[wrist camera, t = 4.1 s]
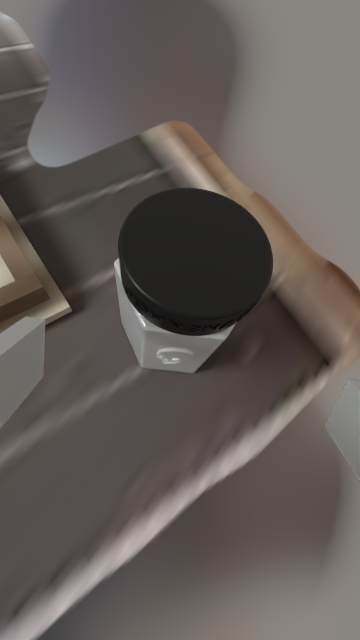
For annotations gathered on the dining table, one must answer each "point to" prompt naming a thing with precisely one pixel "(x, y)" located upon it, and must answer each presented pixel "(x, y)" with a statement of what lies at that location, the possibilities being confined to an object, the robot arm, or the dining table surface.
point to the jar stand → (24, 278)
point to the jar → (188, 275)
